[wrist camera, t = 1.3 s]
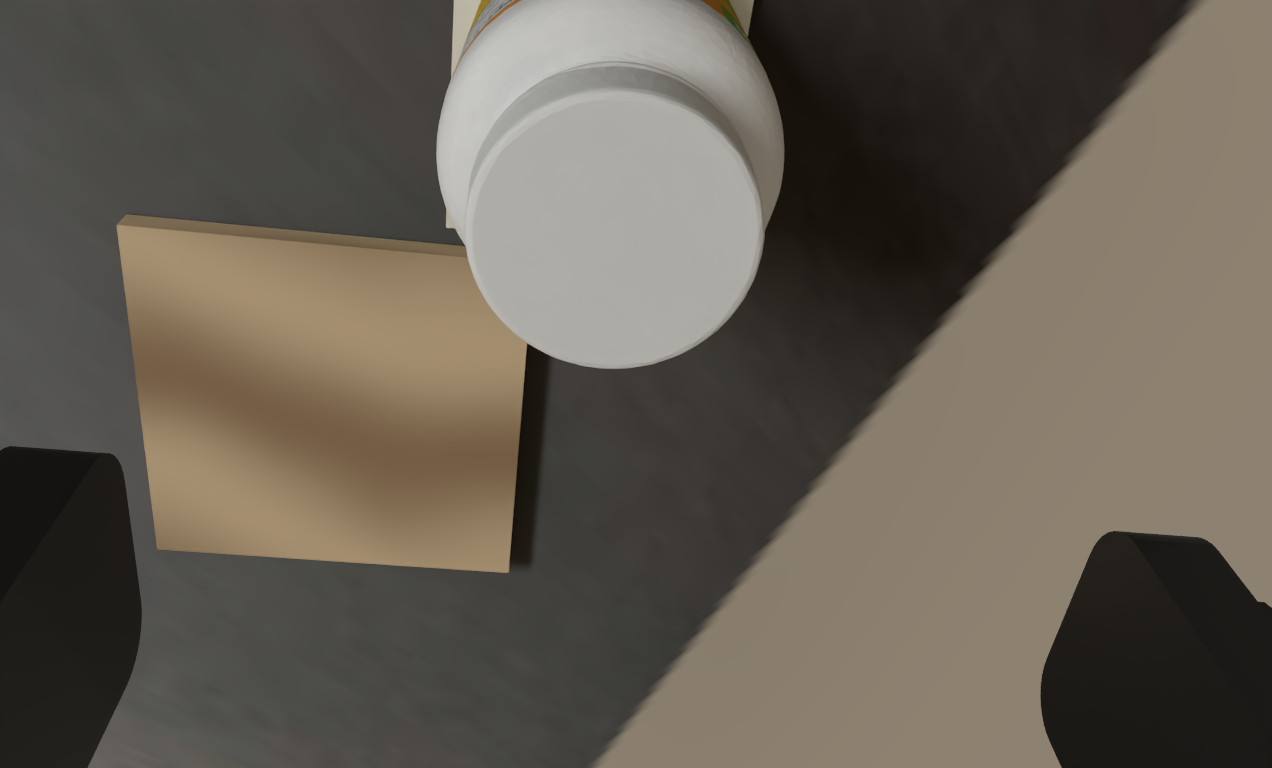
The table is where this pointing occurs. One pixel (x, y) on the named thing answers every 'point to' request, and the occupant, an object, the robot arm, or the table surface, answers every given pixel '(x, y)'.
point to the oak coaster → (322, 395)
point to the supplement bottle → (610, 171)
